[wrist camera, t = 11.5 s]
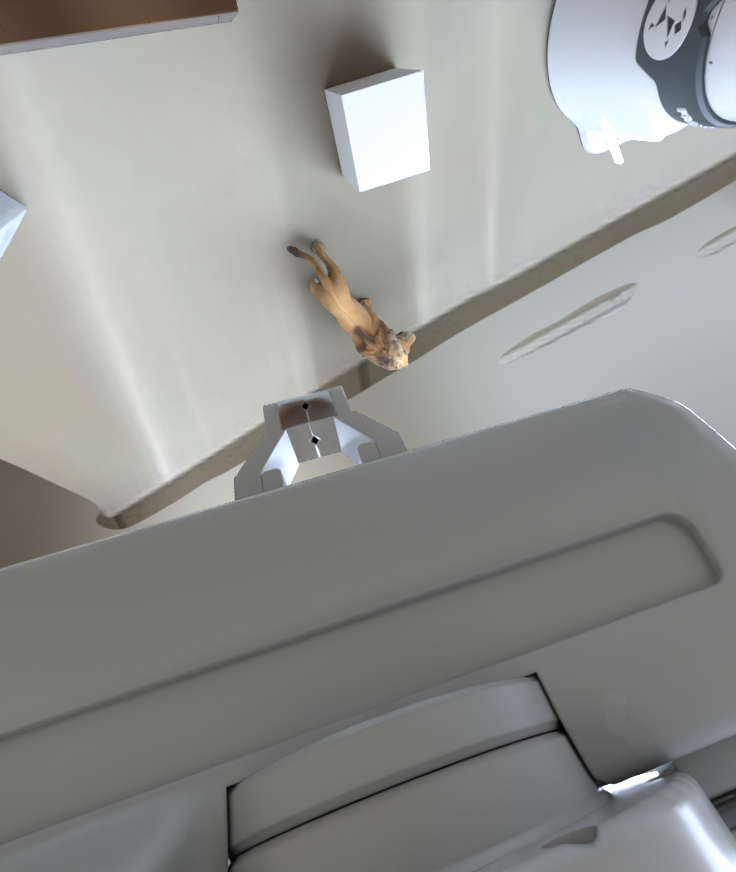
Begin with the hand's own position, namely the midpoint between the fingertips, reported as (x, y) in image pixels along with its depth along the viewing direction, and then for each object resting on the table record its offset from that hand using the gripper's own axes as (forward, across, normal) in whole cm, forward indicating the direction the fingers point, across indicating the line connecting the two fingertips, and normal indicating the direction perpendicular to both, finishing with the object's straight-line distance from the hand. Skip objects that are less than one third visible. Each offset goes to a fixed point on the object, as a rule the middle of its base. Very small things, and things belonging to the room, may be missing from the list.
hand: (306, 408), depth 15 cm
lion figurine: (+29, -7, +10) cm, 32 cm away
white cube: (+29, -11, -4) cm, 32 cm away
